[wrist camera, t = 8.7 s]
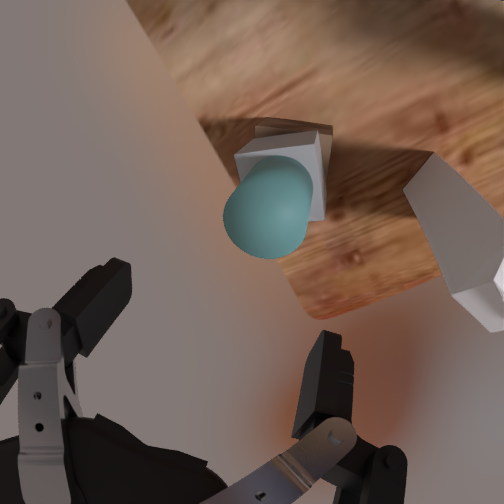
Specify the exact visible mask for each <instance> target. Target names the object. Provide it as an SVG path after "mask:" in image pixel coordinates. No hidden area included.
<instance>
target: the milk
mask: <svg viewBox="0 0 504 504" xmlns="http://www.w3.org/2000/svg"><path fill="white" fill-rule="evenodd" d="M403 192H404V194H405V196H406V197H407V199H408V201H409V203H410V205H411V207H412V209H413V211H414V213H415V215H416V217H417V219H418V221H419V223H420V225H421V227H422V229H423V231H424V234H425V236H426V238H427V240H428V242H429V244H430V247H431V249H432V251H433V253H434V256H435V258H436V260H437V263H438V265H439V267H440V270H441V272H442V275H443V276H444V279H445V282H446V284H447V287H448V289H449V292H450V295H451V296H452V297H453V298H454V299H456V300H457V301H458V302H459V303H460V304H461V305H462V306H463V307H464V308H465V309H466V310H467V311H468V312H469V313H470V314H472V315H473V316H474V317H475V318H476V319H477V320H478V321H479V322H480V323H481V324H482V325H483V326H484V327H485V328H486V329H487V330H488V331H489V332H491V333H492V332H497V331H501V330H504V219H503V217H502V216H501V215H500V214H499V213H498V212H497V211H496V210H495V209H494V208H493V207H492V206H491V205H490V203H489V202H488V201H487V200H486V199H485V198H484V197H483V196H482V195H481V194H480V193H479V192H478V191H477V190H476V189H475V188H474V187H473V186H472V185H471V184H470V183H468V182H467V181H466V180H465V179H464V178H463V177H462V176H461V175H460V174H459V173H458V172H457V171H456V170H455V169H453V168H452V167H451V166H450V165H449V164H448V163H447V162H446V161H444V160H443V159H442V158H441V157H440V156H439V155H438V154H436V153H435V152H434V153H433V154H432V155H431V156H430V158H429V159H428V160H427V161H426V162H425V164H424V165H423V166H422V167H421V168H420V170H419V171H418V172H417V173H416V174H415V176H414V177H413V178H412V179H411V180H410V181H409V183H408V184H407V185H406V186H405V187H404V188H403Z"/></svg>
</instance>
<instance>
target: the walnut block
mask: <svg viewBox="0 0 504 504" xmlns="http://www.w3.org/2000/svg"><path fill="white" fill-rule="evenodd" d="M316 130H318V135H319V141H320V147H321V154H322V161H323V168H324V176H325V183H326V180H327V174H328V167H329V160H330V153H331V146H332V138H333V126H331V125H325V124H318V123H311V122H304V121H296V120H288V119H280V118H270V117H267V118H266V119H264V120H263V121H261V122H260V123H258V124H257V125H255V138H262V137H269V136H276V135H283V134H290V133H298V132H307V131H316Z"/></svg>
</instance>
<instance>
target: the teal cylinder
mask: <svg viewBox="0 0 504 504" xmlns="http://www.w3.org/2000/svg"><path fill="white" fill-rule="evenodd" d="M312 195H313V182H312V179H311V176H310V174H309V172H308V171H307V169H306V168H305V167H304V166H303V165H302V164H301V163H300V162H298V161H297V160H295V159H293V158H290V157H287V156H281V155H275V156H269V157H266V158H264V159H262V160H261V161H259V162H258V163H257V164H256V165H255V166H254V167H253V168H252V169H251V171H250V172H249V173H248V174H247V176H246V177H245V178H244V179H243V181H242V182H241V183H240V184H239V186H238V187H237V188H236V190H235V191H234V192H233V193H232V195H231V196H230V197H229V199H228V201H227V202H226V205H225V208H224V214H223V221H224V226H225V229H226V231H227V234H228V236H229V237H230V239H231V240H232V241H233V243H234V244H235V245H236V246H237V247H239V248H240V249H241V250H243V251H244V252H246V253H248V254H250V255H252V256H255V257H258V258H264V259H275V258H280V257H283V256H286V255H288V254H290V253H291V252H293V251H294V250H295V249H297V248H298V247H299V245H300V244H301V243H302V241H303V239H304V237H305V234H306V230H307V225H308V219H309V213H310V207H311V201H312Z"/></svg>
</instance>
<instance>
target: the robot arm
mask: <svg viewBox="0 0 504 504" xmlns="http://www.w3.org/2000/svg"><path fill="white" fill-rule="evenodd" d="M131 295H132V278H131V265H130V263H127V262H125V261H122V260H120V259H117V258H115V257H114V258H112V259H110V260H109V261H108V262H107V263H106V264H105V265H104V266H101V265H98V266H96V267H94V268H92V269H90V270H89V271H88V272H87V273H86V274H84V276H82V277H81V279H79V281H77V283H76V284H75V286H73V287H72V288H71V289H70V290H69V291H68V292H67V293H66V294H65V295H64V296H63V297H62V298H61V299H60V300H59V301H58V302H57V303H56V304H55V305H54V307H52V308H42V309H39V310H37V311H35V312H34V313H33V314H32V313H27V312H22V311H18V310H16V308H15V305H14V304H13V302H12V301H11V300H9V299H5V298H3V299H0V344H1V345H2V347H1V348H0V404H1V403H2V401H3V400H4V398H5V397H6V395H7V394H8V392H9V391H10V389H11V388H12V386H13V385H14V383H15V382H16V380H17V379H18V423H19V435H18V436H15V437H11V438H8V439H5V440H2V441H0V504H292V503H293V502H294V501H295V500H297V499H298V498H299V497H301V496H302V495H303V494H304V493H305V492H307V491H308V490H309V489H310V488H311V486H312V485H313V484H314V483H315V482H316V481H317V480H319V479H320V478H322V479H323V480H325V481H327V482H329V483H331V484H333V485H335V486H337V487H336V492H335V496H334V501H333V504H404V496H405V488H406V477H407V458H406V456H405V454H404V452H403V451H402V450H401V449H400V448H398V447H396V446H393V445H386V446H383V447H381V448H378V447H376V446H374V445H372V444H370V443H368V442H366V441H364V440H363V439H361V438H360V437H359V436H358V435H357V434H356V431H355V428H354V427H353V425H352V421H351V417H352V402H353V383H354V377H353V375H354V361H353V358H352V356H351V354H350V351H347V350H343V349H341V343H342V336H341V335H339V334H336V333H333V332H329V331H326V330H323V331H322V332H321V333H320V335H319V337H318V339H317V341H316V342H315V344H314V346H313V348H312V350H311V351H310V353H309V356H308V358H307V361H306V364H305V368H304V375H303V380H302V385H301V391H300V396H299V401H298V407H297V413H296V417H295V422H294V427H293V432H292V438H296V439H299V441H298V442H297V443H296V444H294V445H293V446H292V447H290V448H289V449H288V450H286V451H285V452H283V453H282V454H280V455H277V456H276V457H274V458H273V459H271V460H270V461H268V462H267V463H265V464H264V465H262V466H261V467H260V468H258V469H256V470H255V471H253V472H252V473H250V474H249V475H247V476H246V477H244V478H242V479H241V480H239V481H238V482H236V483H234V484H233V485H231V486H229V487H228V486H227V485H226V483H225V482H224V481H223V480H222V479H221V478H220V477H219V476H218V475H217V474H216V473H214V472H213V471H212V470H210V469H209V468H207V467H206V465H207V463H208V461H205V460H202V459H199V458H196V457H194V456H191V455H188V454H186V453H183V452H180V451H176V450H169V449H163V448H158V447H152V446H148V445H146V444H144V443H143V442H141V441H140V440H139V439H138V438H136V437H135V436H134V435H132V434H131V433H130V432H129V431H128V430H126V429H125V428H124V427H123V426H121V425H119V424H117V423H115V422H113V421H111V420H109V419H107V418H105V417H104V416H102V415H100V414H98V413H97V415H96V416H95V418H94V419H92V418H86V417H83V415H82V410H81V407H80V404H79V399H78V390H77V380H76V367H75V359H74V358H75V357H76V355H77V354H78V353H79V354H81V355H83V356H84V357H88V356H89V354H90V353H91V352H92V350H93V349H94V347H95V346H96V345H97V343H98V342H99V341H100V339H101V338H102V337H103V335H104V334H105V333H106V331H107V330H108V329H109V327H110V326H111V325H112V324H113V322H114V321H115V320H116V318H117V317H118V316H119V314H120V313H121V312H122V311H123V309H124V308H125V307H126V305H127V304H128V303H129V300H130V298H131Z"/></svg>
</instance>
